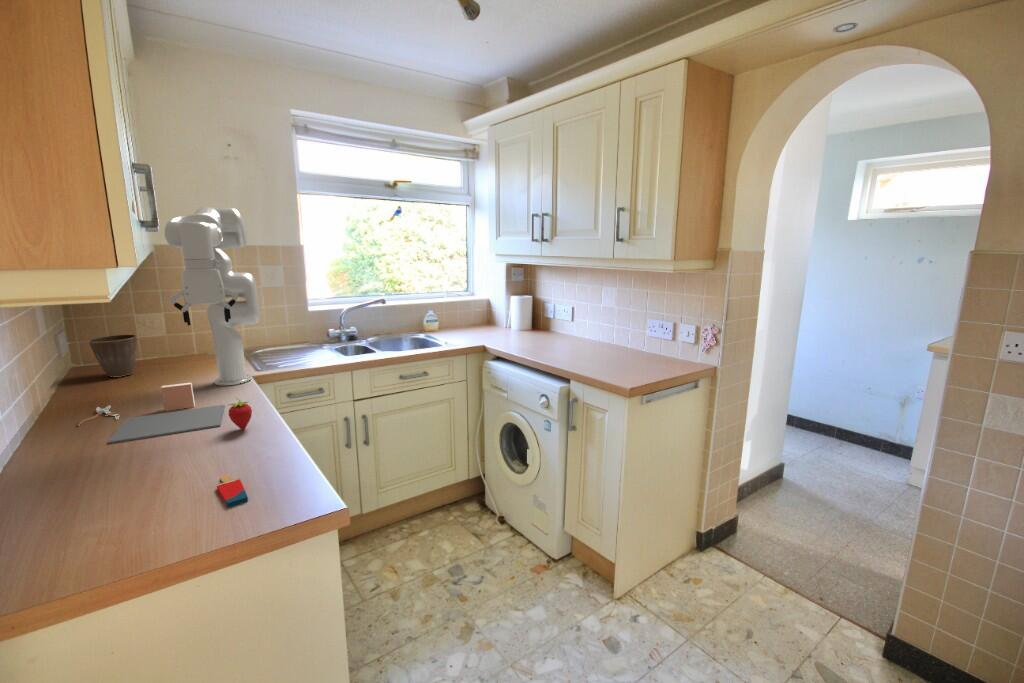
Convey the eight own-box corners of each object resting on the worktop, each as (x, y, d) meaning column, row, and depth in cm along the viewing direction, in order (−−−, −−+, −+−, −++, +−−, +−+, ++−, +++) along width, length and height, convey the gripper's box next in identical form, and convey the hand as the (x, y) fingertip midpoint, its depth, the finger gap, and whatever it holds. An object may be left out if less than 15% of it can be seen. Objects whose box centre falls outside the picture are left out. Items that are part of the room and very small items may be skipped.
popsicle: (235, 470, 109) (249, 496, 97) (236, 476, 109) (250, 502, 98) (212, 476, 106) (224, 503, 95) (213, 482, 106) (225, 510, 95)
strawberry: (231, 436, 130) (226, 402, 128) (230, 427, 137) (226, 395, 135) (254, 431, 133) (250, 398, 131) (253, 423, 140) (249, 391, 138)
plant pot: (95, 383, 181) (87, 343, 178) (97, 375, 193) (89, 337, 189) (143, 376, 191) (136, 338, 187) (142, 369, 202) (136, 333, 199)
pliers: (75, 423, 137) (83, 409, 149) (76, 428, 138) (84, 413, 150) (118, 416, 143) (123, 403, 155) (119, 421, 143) (123, 407, 155)
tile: (166, 409, 153) (162, 385, 151) (195, 405, 156) (191, 382, 155) (164, 411, 150) (160, 387, 149) (194, 407, 154) (190, 384, 152)
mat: (126, 419, 143) (126, 418, 143) (224, 406, 155) (224, 404, 155) (108, 444, 126) (107, 442, 126) (220, 426, 138) (219, 424, 137)
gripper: (233, 264, 143) (240, 318, 146) (163, 265, 133) (172, 324, 137) (235, 264, 137) (242, 322, 140) (163, 266, 127) (172, 328, 131)
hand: (208, 323), depth 139 cm, fingers open, 9 cm apart
